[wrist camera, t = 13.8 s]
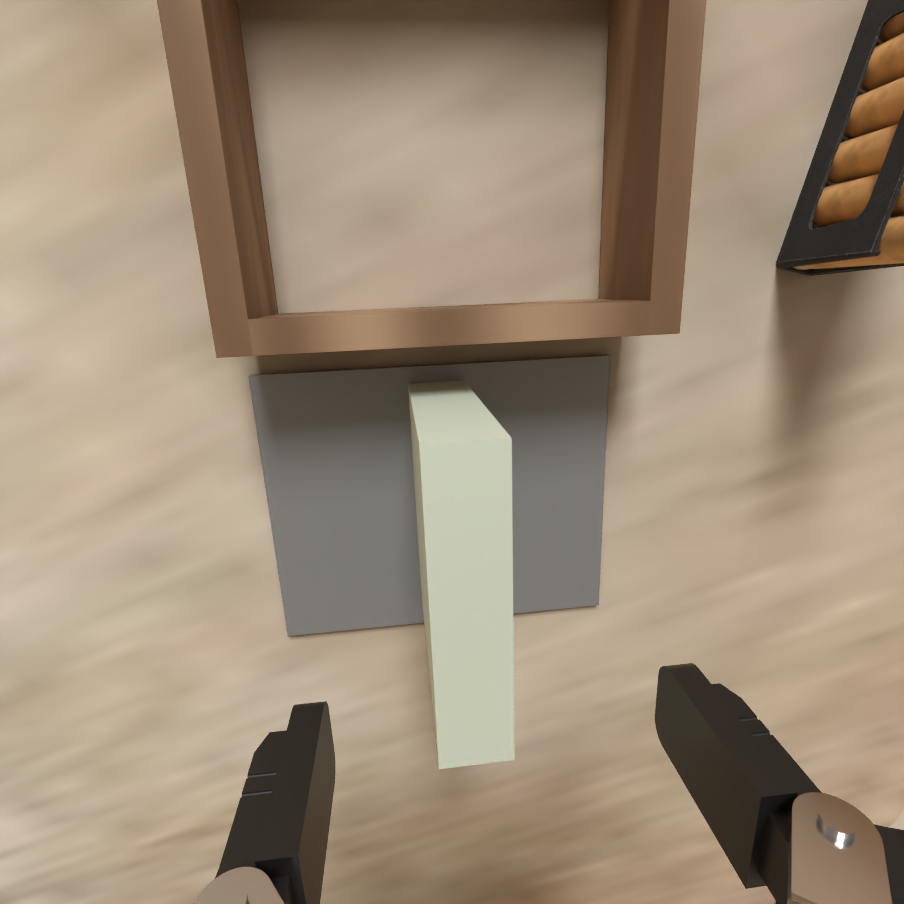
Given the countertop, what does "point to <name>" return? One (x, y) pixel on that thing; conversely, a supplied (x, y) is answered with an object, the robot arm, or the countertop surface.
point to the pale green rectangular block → (465, 570)
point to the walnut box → (612, 315)
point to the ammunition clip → (857, 161)
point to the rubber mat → (393, 490)
